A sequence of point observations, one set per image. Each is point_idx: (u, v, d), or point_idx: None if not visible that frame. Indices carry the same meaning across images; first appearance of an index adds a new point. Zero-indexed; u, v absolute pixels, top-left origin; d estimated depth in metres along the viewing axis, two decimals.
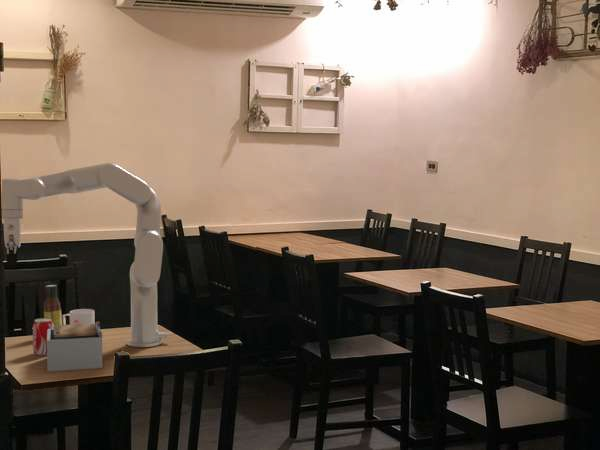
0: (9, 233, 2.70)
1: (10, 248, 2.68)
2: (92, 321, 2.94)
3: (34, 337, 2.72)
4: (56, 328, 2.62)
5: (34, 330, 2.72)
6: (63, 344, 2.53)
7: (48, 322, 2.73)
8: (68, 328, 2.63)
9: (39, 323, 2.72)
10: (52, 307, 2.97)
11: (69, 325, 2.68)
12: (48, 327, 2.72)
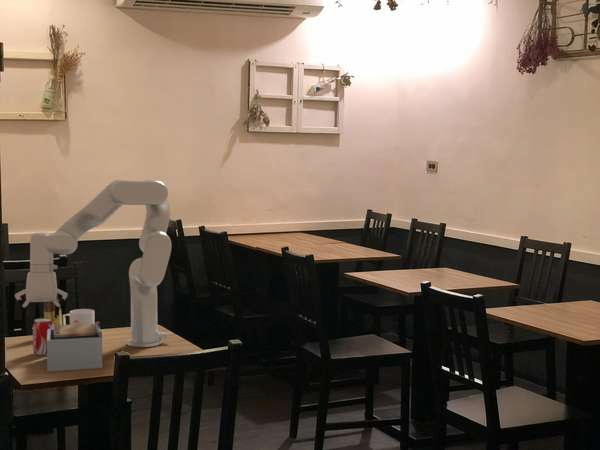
0: (56, 286, 2.74)
1: (64, 300, 2.76)
2: (92, 321, 2.94)
3: (34, 337, 2.72)
4: (56, 328, 2.62)
5: (34, 330, 2.72)
6: (63, 344, 2.53)
7: (48, 322, 2.73)
8: (68, 328, 2.63)
9: (39, 323, 2.72)
10: (52, 307, 2.97)
11: (69, 325, 2.68)
12: (48, 327, 2.72)
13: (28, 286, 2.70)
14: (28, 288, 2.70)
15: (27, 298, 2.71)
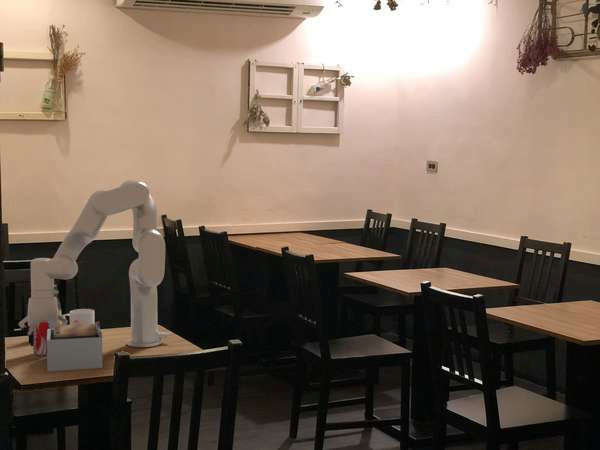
0: None
1: None
2: (92, 321, 2.94)
3: (34, 337, 2.72)
4: (56, 328, 2.62)
5: (34, 330, 2.72)
6: (63, 344, 2.53)
7: None
8: (68, 328, 2.63)
9: (39, 323, 2.72)
10: None
11: (69, 325, 2.68)
12: (48, 327, 2.72)
13: (30, 312, 2.71)
14: (30, 314, 2.71)
15: (29, 324, 2.71)
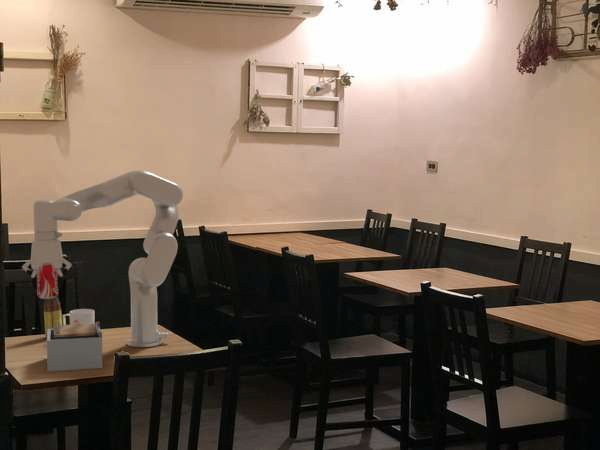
0: (61, 253, 2.71)
1: (67, 270, 2.72)
2: (92, 321, 2.94)
3: (38, 280, 2.69)
4: (56, 328, 2.62)
5: (37, 273, 2.68)
6: (63, 344, 2.53)
7: None
8: (68, 328, 2.63)
9: (42, 265, 2.68)
10: (52, 307, 2.97)
11: (69, 325, 2.68)
12: (52, 270, 2.68)
13: (33, 254, 2.67)
14: (33, 256, 2.67)
15: (32, 266, 2.68)
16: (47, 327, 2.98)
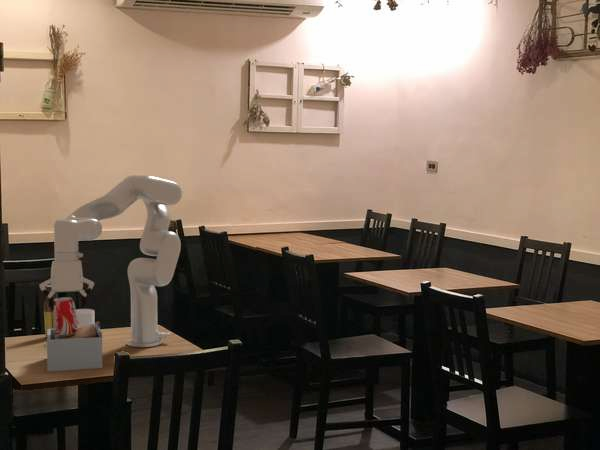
0: (82, 275, 2.62)
1: (91, 289, 2.63)
2: (92, 321, 2.94)
3: (55, 317, 2.59)
4: (57, 337, 2.62)
5: (54, 310, 2.59)
6: (63, 344, 2.53)
7: (68, 300, 2.59)
8: None
9: (59, 302, 2.58)
10: None
11: None
12: (69, 306, 2.59)
13: (53, 275, 2.57)
14: (53, 278, 2.57)
15: (52, 288, 2.58)
16: (47, 327, 2.98)
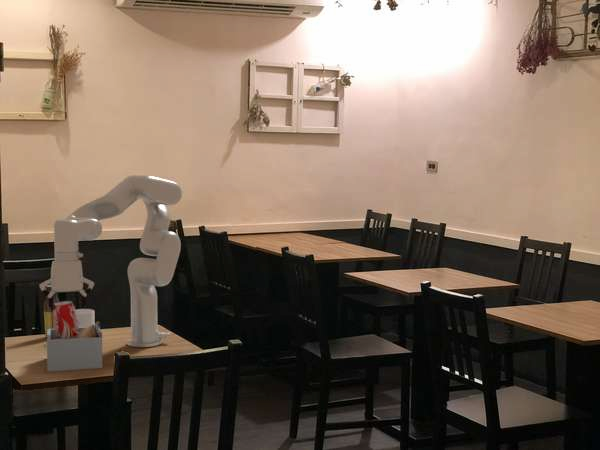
0: (82, 275, 2.62)
1: (91, 289, 2.63)
2: (92, 321, 2.94)
3: (56, 322, 2.59)
4: None
5: (55, 314, 2.59)
6: (63, 344, 2.53)
7: (68, 304, 2.60)
8: None
9: (59, 306, 2.58)
10: None
11: None
12: (69, 309, 2.59)
13: (53, 275, 2.57)
14: (53, 278, 2.57)
15: (52, 288, 2.58)
16: (47, 327, 2.98)
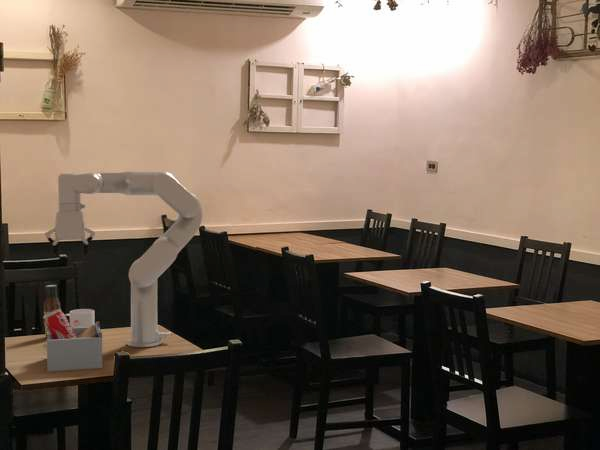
0: None
1: None
2: (92, 321, 2.94)
3: (50, 333, 2.59)
4: None
5: (46, 327, 2.58)
6: (63, 344, 2.53)
7: (55, 314, 2.58)
8: None
9: (47, 318, 2.57)
10: (52, 307, 2.97)
11: None
12: (57, 319, 2.57)
13: (58, 224, 2.81)
14: (58, 226, 2.81)
15: (57, 236, 2.81)
16: None
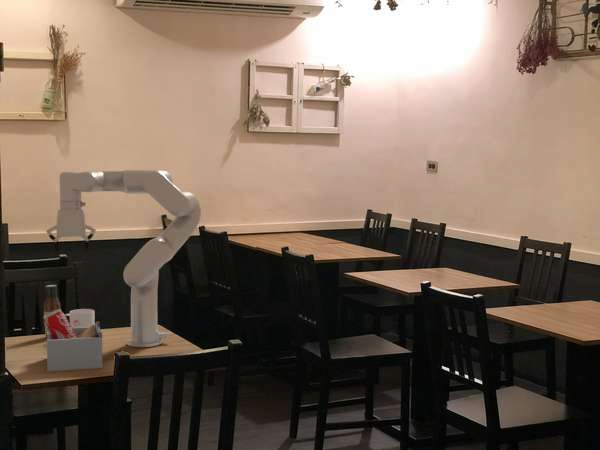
0: None
1: None
2: (92, 321, 2.94)
3: (50, 333, 2.59)
4: None
5: (46, 327, 2.58)
6: (63, 344, 2.53)
7: (55, 314, 2.58)
8: None
9: (47, 318, 2.57)
10: (52, 307, 2.97)
11: None
12: (57, 319, 2.57)
13: (59, 222, 2.87)
14: (59, 224, 2.87)
15: (58, 233, 2.87)
16: None
